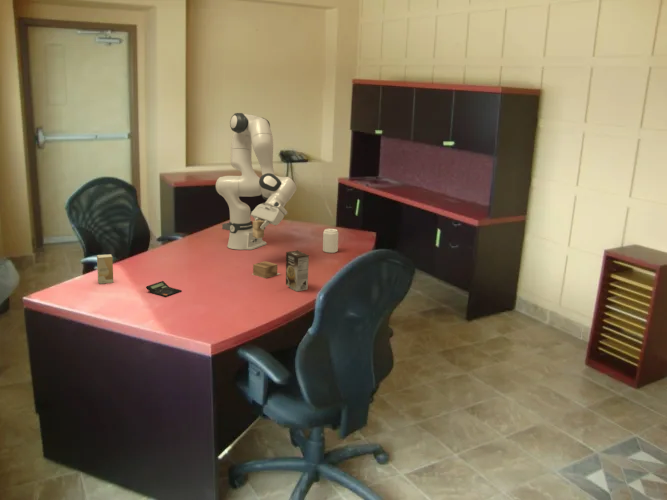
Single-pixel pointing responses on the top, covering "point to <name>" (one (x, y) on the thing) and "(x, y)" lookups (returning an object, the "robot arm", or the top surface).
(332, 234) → the beverage can
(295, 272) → the coffee box
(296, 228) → the top surface
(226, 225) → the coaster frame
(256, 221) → the oak block
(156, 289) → the calculator
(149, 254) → the top surface
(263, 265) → the walnut brick
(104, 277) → the skincare box
